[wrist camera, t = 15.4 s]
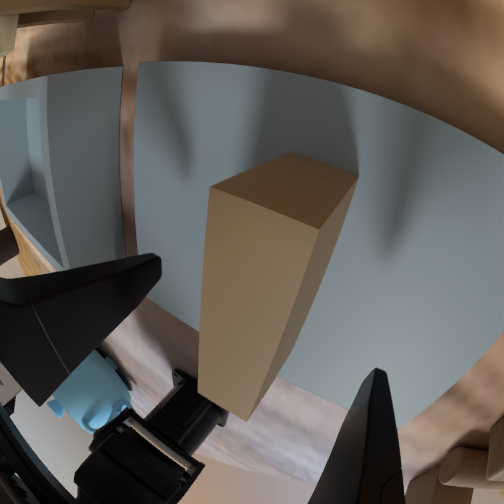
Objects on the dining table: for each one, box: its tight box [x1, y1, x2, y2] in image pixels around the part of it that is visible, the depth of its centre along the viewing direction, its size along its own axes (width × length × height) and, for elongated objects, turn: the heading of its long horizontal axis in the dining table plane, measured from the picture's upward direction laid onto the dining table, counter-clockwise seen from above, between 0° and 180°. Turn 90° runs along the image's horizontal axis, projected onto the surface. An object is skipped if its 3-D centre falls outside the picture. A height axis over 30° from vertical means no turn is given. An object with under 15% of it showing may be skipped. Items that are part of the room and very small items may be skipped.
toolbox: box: [0, 0, 131, 271], centre depth 14 cm, size 21×18×10 cm
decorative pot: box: [47, 349, 133, 435], centre depth 37 cm, size 16×16×14 cm
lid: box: [134, 61, 504, 429], centre depth 11 cm, size 14×18×7 cm
